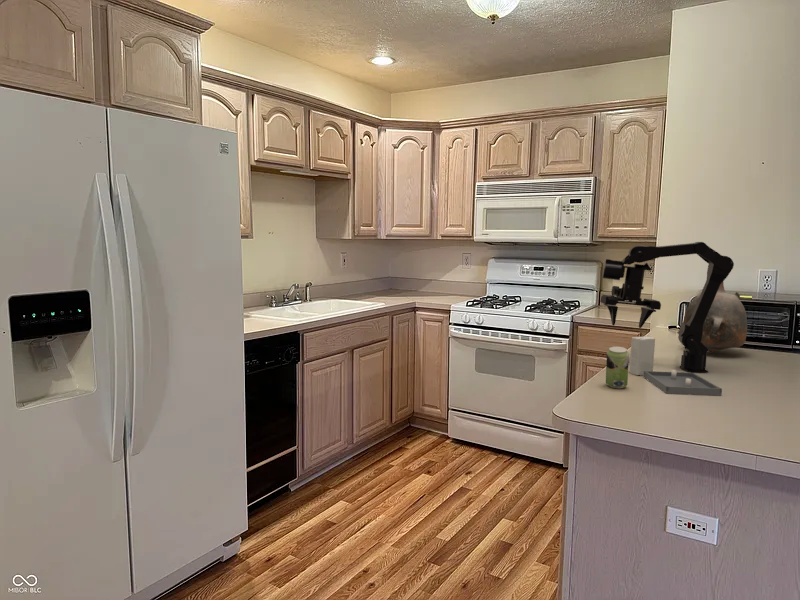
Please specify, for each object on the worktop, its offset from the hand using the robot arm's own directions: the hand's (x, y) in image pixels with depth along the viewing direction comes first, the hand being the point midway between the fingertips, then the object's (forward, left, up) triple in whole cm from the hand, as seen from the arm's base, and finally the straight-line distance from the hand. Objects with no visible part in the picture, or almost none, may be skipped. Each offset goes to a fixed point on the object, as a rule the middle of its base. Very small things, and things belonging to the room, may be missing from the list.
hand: (626, 326), depth 186 cm
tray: (-8, +26, -13) cm, 30 cm away
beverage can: (+12, +30, -14) cm, 35 cm away
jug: (-41, -25, -14) cm, 50 cm away
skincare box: (-1, +13, -14) cm, 19 cm away
